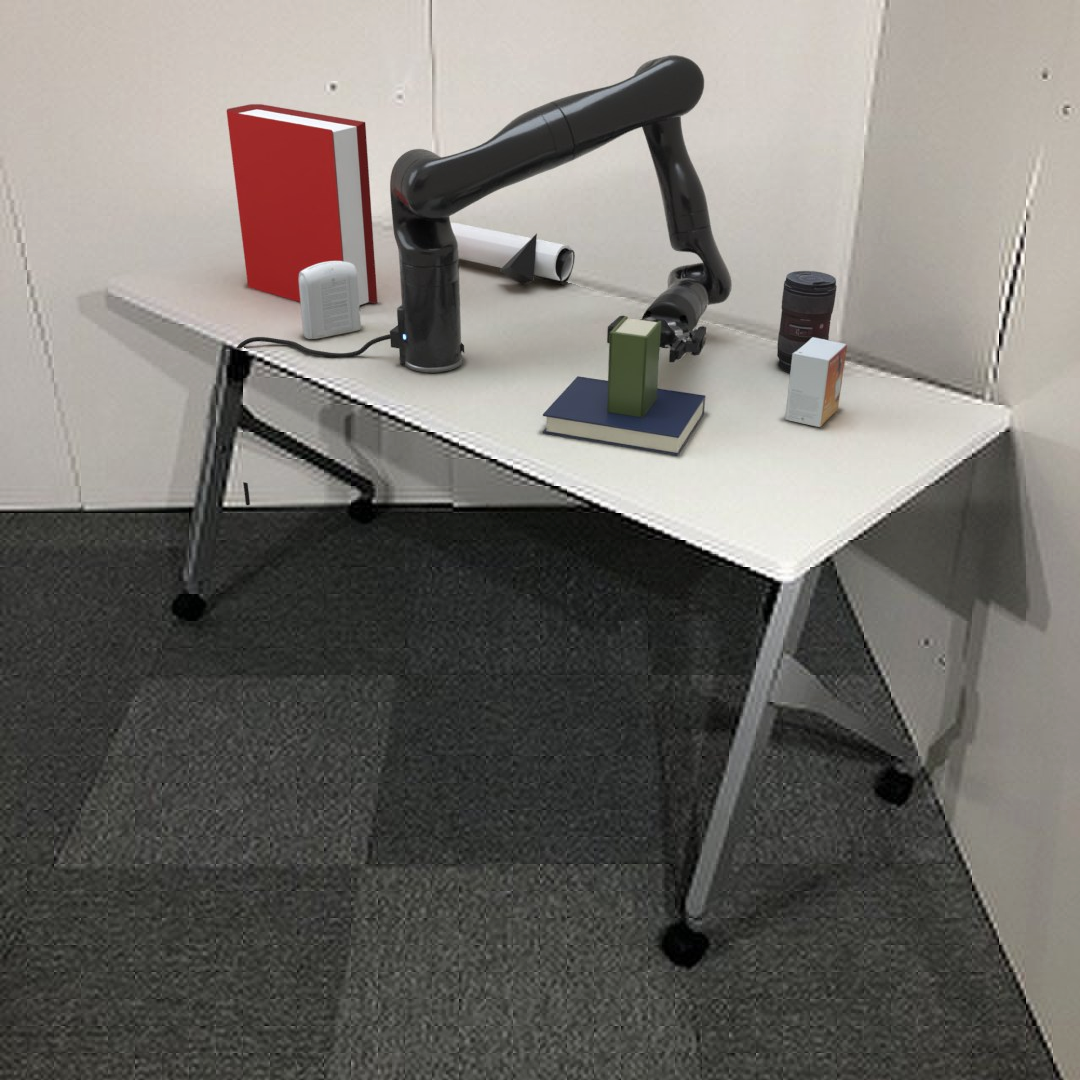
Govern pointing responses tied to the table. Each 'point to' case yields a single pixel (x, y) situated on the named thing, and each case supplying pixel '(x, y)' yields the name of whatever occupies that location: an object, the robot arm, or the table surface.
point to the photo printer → (329, 299)
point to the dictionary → (633, 367)
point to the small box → (815, 381)
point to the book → (301, 196)
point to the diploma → (515, 254)
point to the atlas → (624, 418)
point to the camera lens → (804, 312)
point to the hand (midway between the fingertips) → (643, 352)
